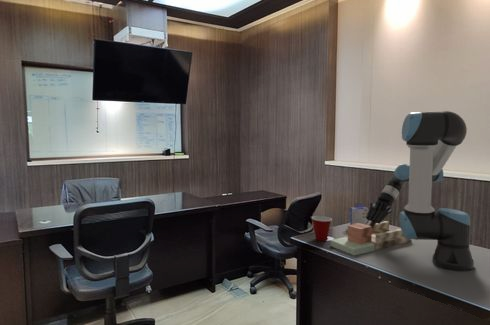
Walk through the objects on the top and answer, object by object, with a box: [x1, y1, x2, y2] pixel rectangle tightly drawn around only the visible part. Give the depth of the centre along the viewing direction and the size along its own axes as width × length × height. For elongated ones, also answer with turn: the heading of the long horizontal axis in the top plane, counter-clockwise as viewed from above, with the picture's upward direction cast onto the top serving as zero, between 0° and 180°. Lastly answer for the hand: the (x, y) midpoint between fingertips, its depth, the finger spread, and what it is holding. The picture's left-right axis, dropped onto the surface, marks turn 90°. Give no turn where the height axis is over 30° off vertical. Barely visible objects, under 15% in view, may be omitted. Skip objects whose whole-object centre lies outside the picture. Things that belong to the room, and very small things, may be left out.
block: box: [347, 223, 372, 244], centre depth 170 cm, size 8×8×8 cm
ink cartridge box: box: [349, 203, 370, 225], centre depth 202 cm, size 10×6×14 cm, turn 89°
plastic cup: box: [311, 215, 333, 242], centre depth 183 cm, size 11×11×12 cm
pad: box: [330, 235, 375, 257], centre depth 169 cm, size 13×16×3 cm
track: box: [369, 220, 413, 251], centre depth 178 cm, size 27×16×7 cm, turn 118°
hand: (365, 232), depth 174 cm, fingers closed
